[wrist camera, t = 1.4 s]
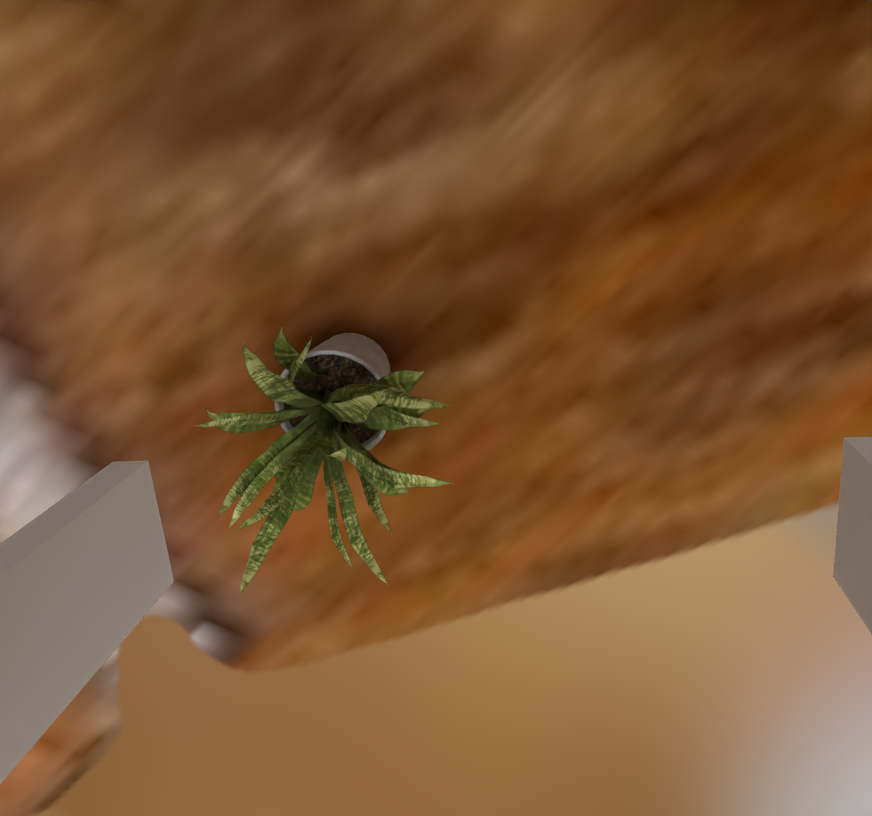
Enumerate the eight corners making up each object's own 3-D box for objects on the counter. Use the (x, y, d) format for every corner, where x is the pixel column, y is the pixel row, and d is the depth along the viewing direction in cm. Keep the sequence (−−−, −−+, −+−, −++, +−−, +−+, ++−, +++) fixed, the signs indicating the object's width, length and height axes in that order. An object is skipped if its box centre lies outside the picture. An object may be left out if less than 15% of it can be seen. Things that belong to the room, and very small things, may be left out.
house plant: (416, 508, 56) (380, 668, 41) (231, 441, 55) (127, 580, 40) (489, 330, 50) (479, 441, 35) (285, 252, 50) (186, 333, 35)
